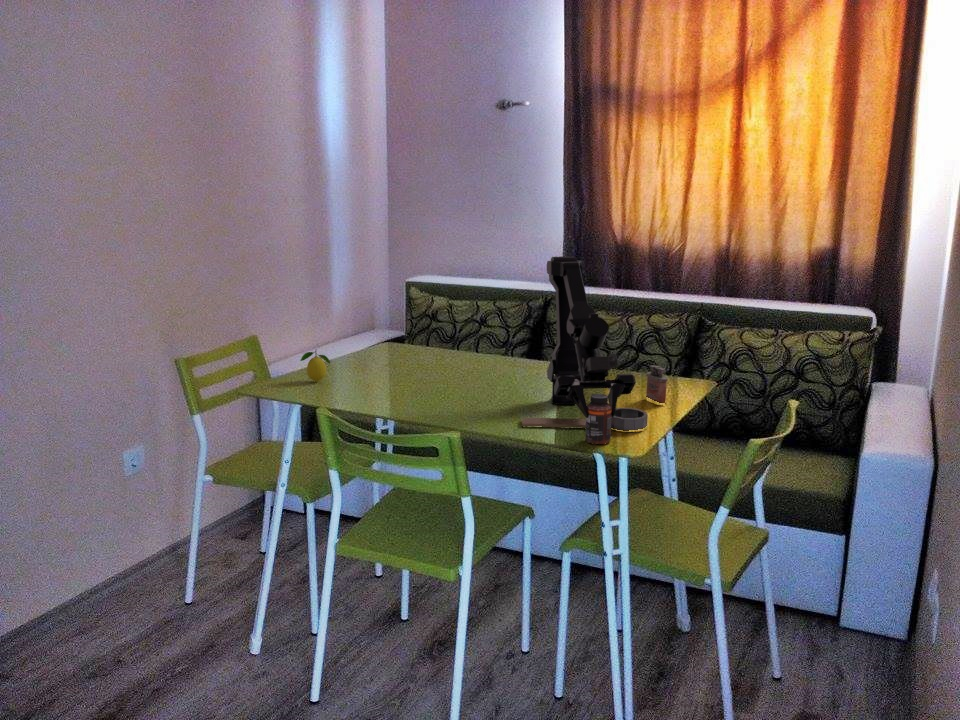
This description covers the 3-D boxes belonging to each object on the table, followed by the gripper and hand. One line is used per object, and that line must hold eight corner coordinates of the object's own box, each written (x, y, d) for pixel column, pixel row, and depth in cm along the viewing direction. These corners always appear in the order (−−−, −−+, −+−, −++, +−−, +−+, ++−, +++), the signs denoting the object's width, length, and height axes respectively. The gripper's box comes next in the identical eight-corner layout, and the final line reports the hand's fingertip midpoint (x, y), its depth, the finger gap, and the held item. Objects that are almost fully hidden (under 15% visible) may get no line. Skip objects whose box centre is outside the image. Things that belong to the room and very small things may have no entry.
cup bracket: (521, 430, 226) (522, 416, 225) (522, 418, 235) (522, 405, 234) (648, 433, 224) (649, 419, 224) (644, 421, 234) (644, 408, 233)
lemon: (301, 383, 266) (299, 349, 264) (311, 378, 271) (309, 345, 269) (321, 385, 264) (320, 351, 262) (331, 380, 269) (330, 347, 267)
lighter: (642, 398, 254) (644, 363, 252) (653, 397, 255) (655, 362, 253) (657, 406, 247) (660, 370, 244) (668, 405, 248) (671, 369, 246)
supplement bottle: (609, 437, 221) (611, 392, 218) (611, 446, 215) (613, 399, 212) (584, 437, 221) (585, 391, 218) (586, 445, 215) (587, 398, 213)
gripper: (558, 342, 215) (568, 401, 207) (635, 340, 218) (648, 398, 210) (549, 367, 224) (558, 424, 216) (623, 365, 227) (635, 421, 219)
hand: (600, 416), depth 215 cm, fingers closed on supplement bottle, 6 cm apart
